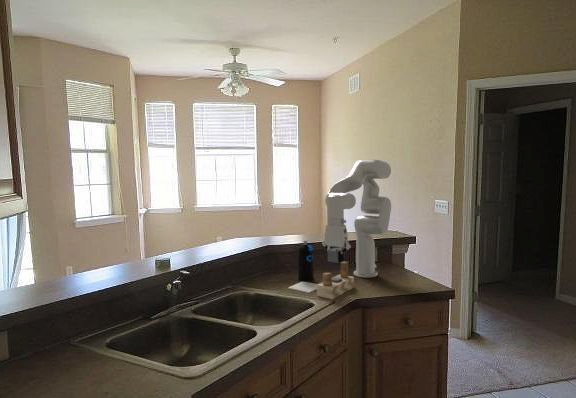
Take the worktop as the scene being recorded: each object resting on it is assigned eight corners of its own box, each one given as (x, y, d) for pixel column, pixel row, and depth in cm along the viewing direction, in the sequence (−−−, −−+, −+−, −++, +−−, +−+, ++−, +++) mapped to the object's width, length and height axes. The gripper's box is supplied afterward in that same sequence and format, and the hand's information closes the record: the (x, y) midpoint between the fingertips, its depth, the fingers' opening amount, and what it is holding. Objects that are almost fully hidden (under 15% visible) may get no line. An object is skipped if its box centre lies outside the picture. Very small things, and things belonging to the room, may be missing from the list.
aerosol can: (295, 280, 194) (295, 241, 192) (301, 276, 201) (300, 238, 200) (310, 281, 191) (310, 242, 189) (315, 277, 198) (315, 239, 197)
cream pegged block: (339, 284, 185) (338, 260, 185) (353, 287, 181) (353, 262, 180) (316, 295, 170) (316, 269, 169) (332, 299, 165) (332, 272, 164)
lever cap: (335, 258, 179) (335, 245, 178) (344, 259, 176) (344, 247, 175) (327, 261, 173) (327, 249, 173) (337, 262, 170) (337, 250, 170)
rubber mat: (302, 282, 190) (302, 281, 190) (322, 286, 183) (322, 285, 183) (288, 288, 181) (288, 287, 181) (308, 293, 173) (308, 292, 173)
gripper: (356, 222, 171) (356, 261, 172) (323, 219, 181) (324, 256, 183) (348, 224, 165) (349, 265, 166) (315, 221, 175) (316, 260, 177)
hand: (336, 260), depth 175 cm, fingers closed on lever cap, 5 cm apart
